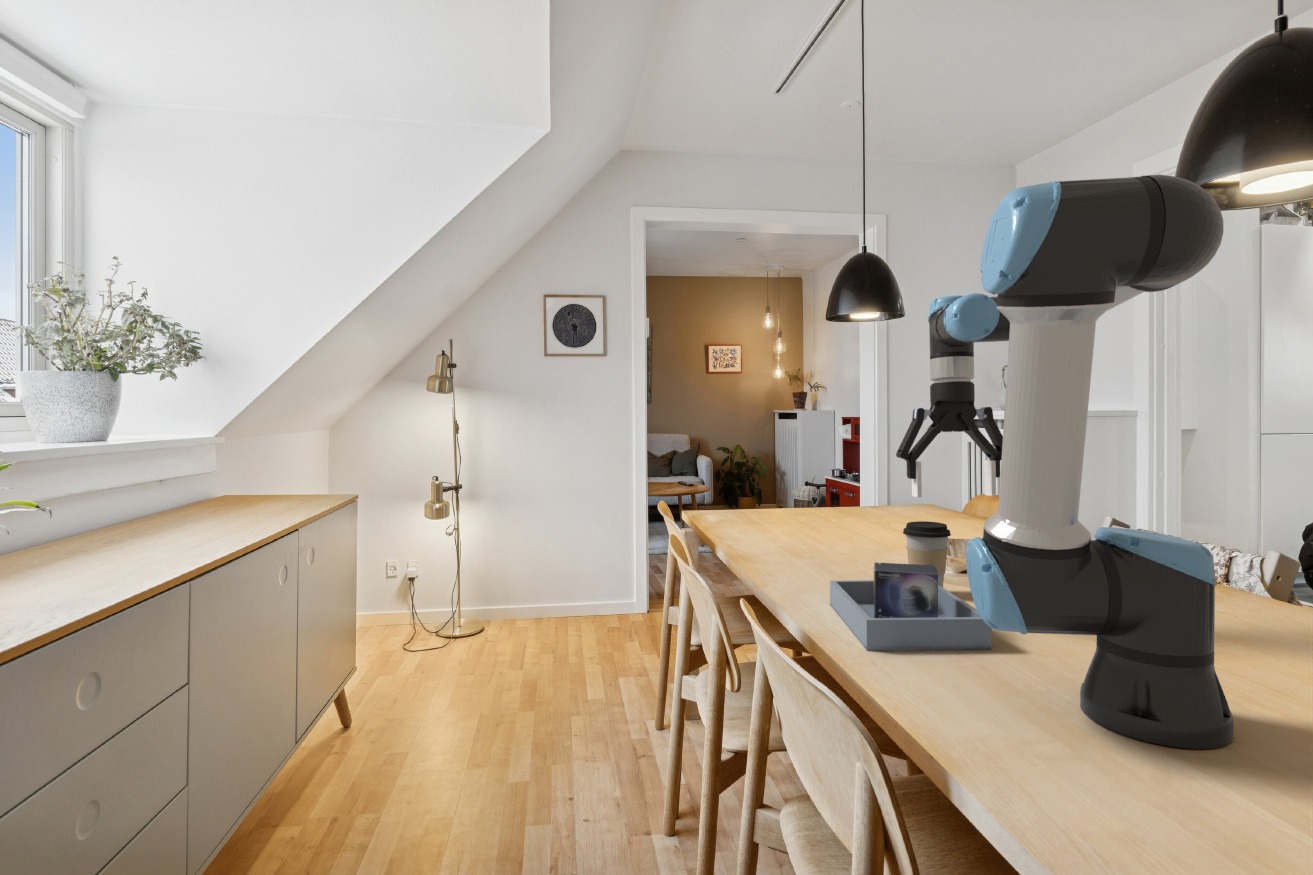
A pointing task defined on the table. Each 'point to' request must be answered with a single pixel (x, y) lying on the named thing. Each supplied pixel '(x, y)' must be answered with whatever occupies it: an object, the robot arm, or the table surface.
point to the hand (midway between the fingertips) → (953, 496)
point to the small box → (905, 591)
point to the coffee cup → (928, 545)
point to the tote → (909, 622)
